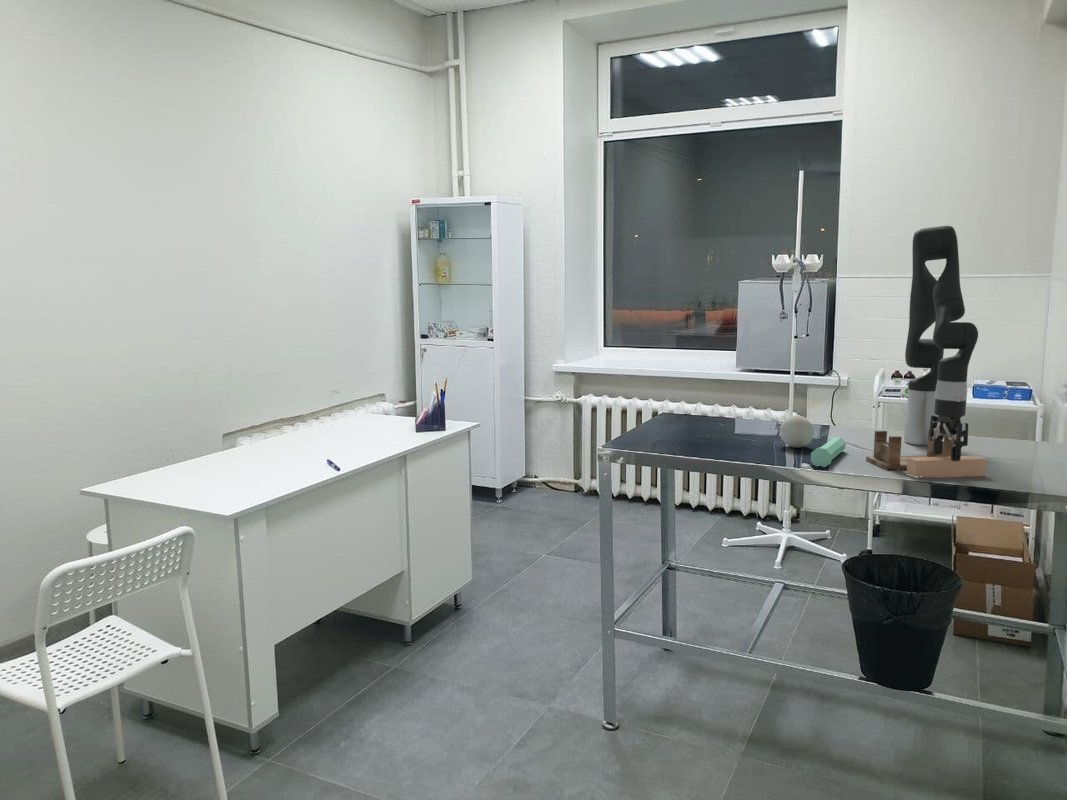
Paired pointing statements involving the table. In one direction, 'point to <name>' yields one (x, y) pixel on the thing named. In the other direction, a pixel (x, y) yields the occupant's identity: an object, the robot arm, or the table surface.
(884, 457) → the rack
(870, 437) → the table surface
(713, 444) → the table surface
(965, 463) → the tan rectangular block
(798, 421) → the grey ball
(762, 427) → the table surface
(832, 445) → the mint green octagonal prism
